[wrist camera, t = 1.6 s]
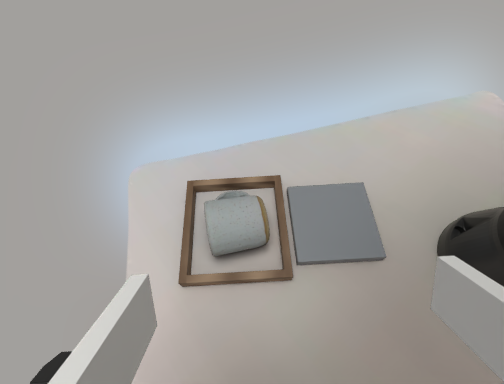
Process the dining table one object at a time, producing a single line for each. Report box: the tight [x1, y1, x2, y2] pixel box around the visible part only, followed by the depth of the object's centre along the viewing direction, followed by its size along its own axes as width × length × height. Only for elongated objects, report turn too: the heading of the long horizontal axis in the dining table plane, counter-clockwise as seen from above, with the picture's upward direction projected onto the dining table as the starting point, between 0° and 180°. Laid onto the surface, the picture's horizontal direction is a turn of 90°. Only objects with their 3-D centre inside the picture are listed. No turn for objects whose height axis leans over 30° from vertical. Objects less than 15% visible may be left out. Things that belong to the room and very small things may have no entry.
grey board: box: [287, 182, 386, 265], centre depth 40 cm, size 12×12×2 cm
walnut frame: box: [179, 175, 293, 287], centre depth 39 cm, size 15×16×2 cm
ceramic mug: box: [204, 191, 270, 256], centre depth 38 cm, size 11×8×8 cm
